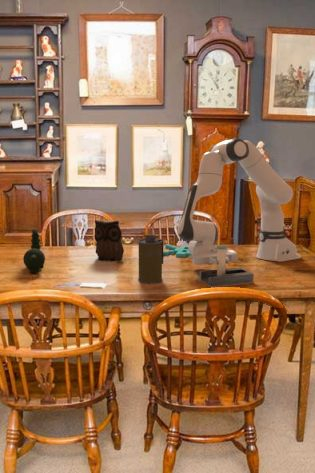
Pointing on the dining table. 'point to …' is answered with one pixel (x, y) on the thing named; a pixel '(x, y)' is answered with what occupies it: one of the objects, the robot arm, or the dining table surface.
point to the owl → (108, 241)
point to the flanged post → (221, 260)
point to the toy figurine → (34, 254)
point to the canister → (150, 259)
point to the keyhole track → (226, 277)
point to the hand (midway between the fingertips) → (222, 262)
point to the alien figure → (177, 251)
